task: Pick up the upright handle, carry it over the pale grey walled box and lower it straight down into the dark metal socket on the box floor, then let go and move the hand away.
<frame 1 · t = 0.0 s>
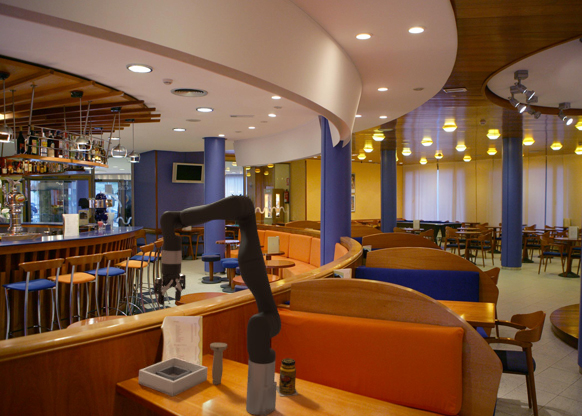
hand: (169, 302, 170), 29 cm above the table, tool pointing down, fingers open, 8 cm apart
box: (173, 381, 166), on the table
handle: (216, 383, 166), on the table
condiment: (286, 391, 163), on the table
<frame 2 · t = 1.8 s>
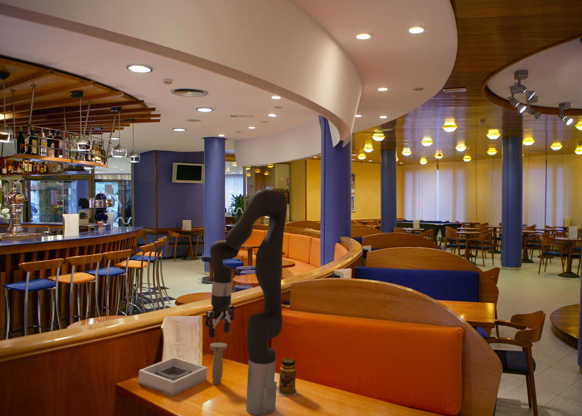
hand: (219, 334, 166), 19 cm above the table, tool pointing down, fingers open, 8 cm apart
nothing on the table moved.
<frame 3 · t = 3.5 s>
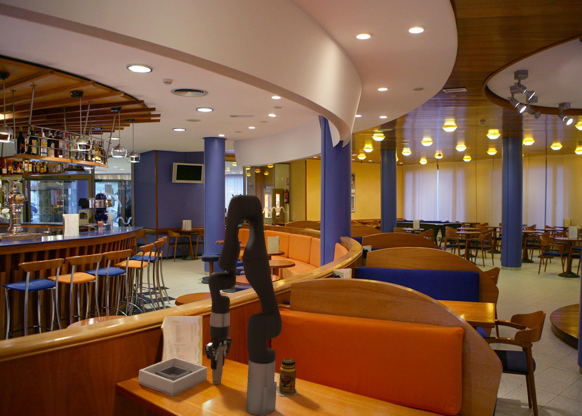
hand: (217, 367, 166), 6 cm above the table, tool pointing down, fingers closed on handle, 4 cm apart
handle: (216, 383, 166), on the table, touching gripper
everything else where it was.
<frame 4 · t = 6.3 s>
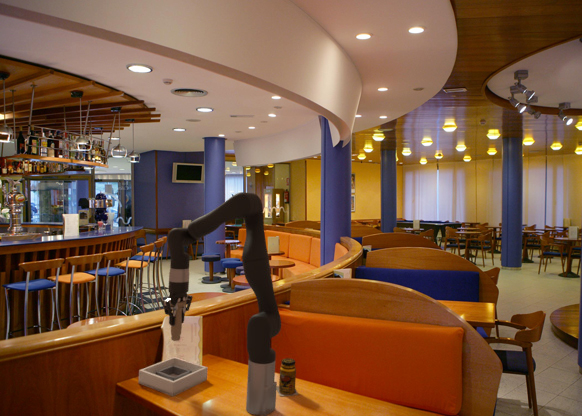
hand: (176, 323, 166), 22 cm above the table, tool pointing down, fingers closed on handle, 4 cm apart
handle: (175, 340, 166), point 16 cm above the table, touching gripper
everything else where it was.
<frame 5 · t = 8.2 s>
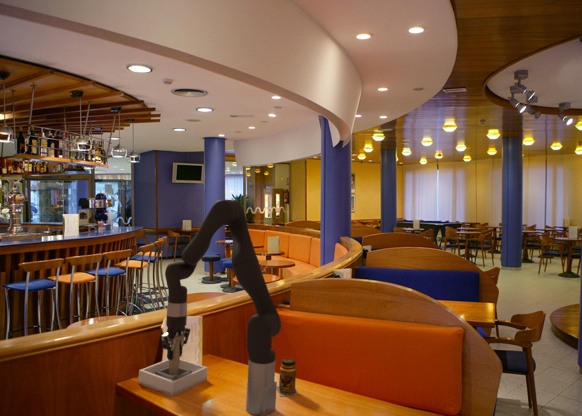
hand: (174, 357, 166), 9 cm above the table, tool pointing down, fingers closed on handle, 4 cm apart
handle: (173, 374, 166), point 3 cm above the table, touching gripper
everything else where it was.
when the fingers open (8 cm above the table, at t = 9.2 s): handle stays where it is, resting on box.
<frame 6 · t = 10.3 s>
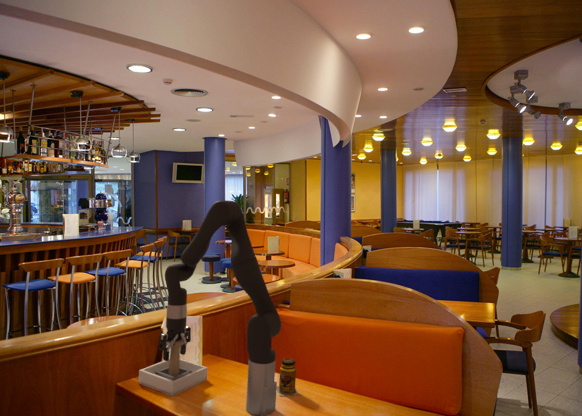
hand: (174, 357, 166), 9 cm above the table, tool pointing down, fingers open, 8 cm apart
handle: (173, 379, 166), point 1 cm above the table, touching box
everything else where it was.
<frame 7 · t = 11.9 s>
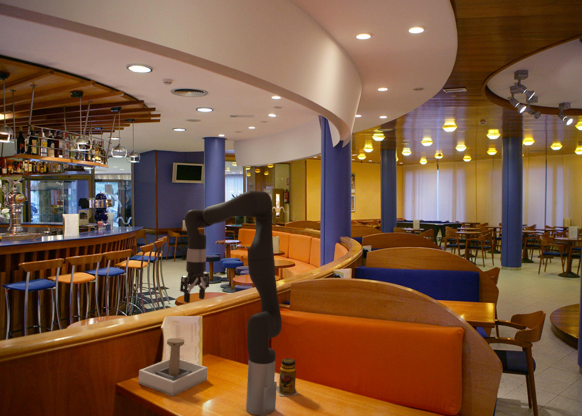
hand: (194, 300, 171), 30 cm above the table, tool pointing down, fingers open, 8 cm apart
nothing on the table moved.
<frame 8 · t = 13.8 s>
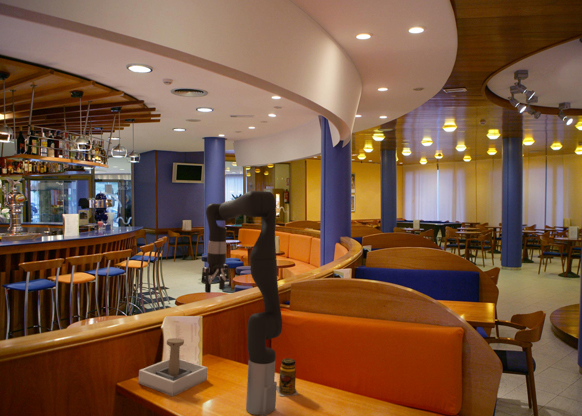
hand: (214, 291, 178), 33 cm above the table, tool pointing down, fingers open, 8 cm apart
nothing on the table moved.
at the end: handle 0.1 cm off-centre on the box, point 0.8 cm above the box's base; handle tilted 0°; the gripper is holding nothing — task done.
